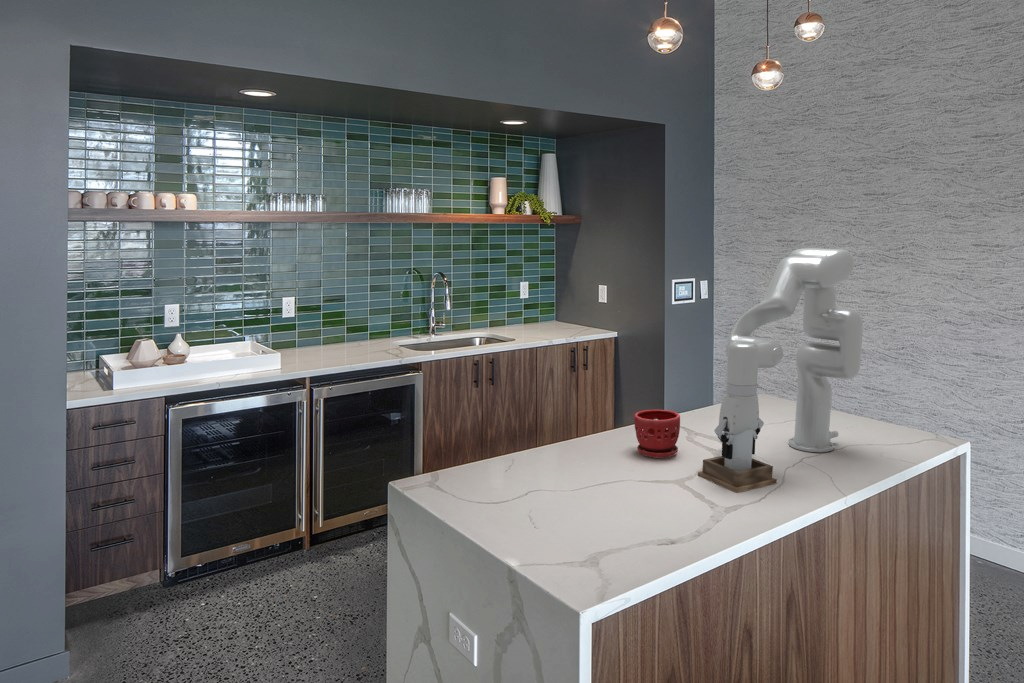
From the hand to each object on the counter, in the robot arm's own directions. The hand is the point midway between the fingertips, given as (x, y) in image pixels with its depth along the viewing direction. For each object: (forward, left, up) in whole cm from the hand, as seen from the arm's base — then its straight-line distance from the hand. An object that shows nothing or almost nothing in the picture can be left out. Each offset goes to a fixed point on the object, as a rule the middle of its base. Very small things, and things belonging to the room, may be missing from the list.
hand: (738, 454), depth 187 cm
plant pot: (+5, -27, -7) cm, 28 cm away
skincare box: (0, 0, -5) cm, 5 cm away
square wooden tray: (0, 0, -7) cm, 7 cm away
